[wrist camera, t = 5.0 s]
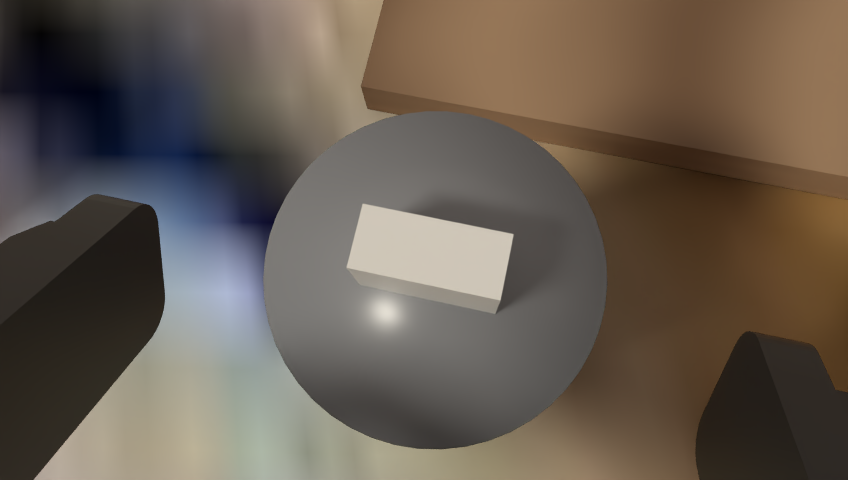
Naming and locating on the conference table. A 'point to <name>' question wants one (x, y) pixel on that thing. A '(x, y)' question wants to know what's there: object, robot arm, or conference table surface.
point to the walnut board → (635, 79)
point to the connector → (435, 280)
